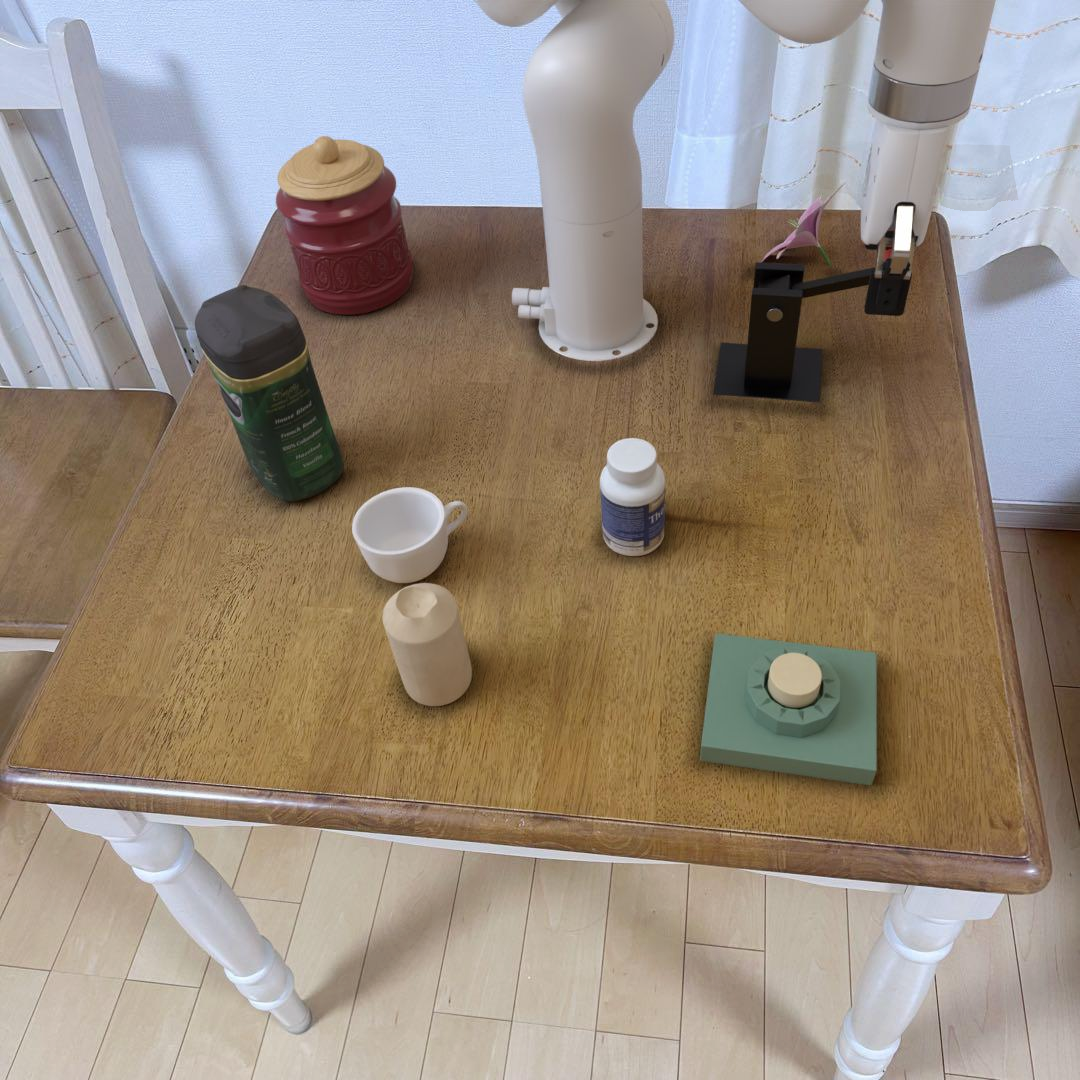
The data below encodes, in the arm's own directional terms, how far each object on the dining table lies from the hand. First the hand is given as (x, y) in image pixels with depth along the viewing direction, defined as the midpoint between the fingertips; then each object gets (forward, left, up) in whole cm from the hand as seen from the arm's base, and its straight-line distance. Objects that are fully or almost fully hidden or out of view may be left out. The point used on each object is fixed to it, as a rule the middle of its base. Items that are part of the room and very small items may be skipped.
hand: (882, 279), depth 90 cm
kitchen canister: (-56, +12, -12) cm, 59 cm away
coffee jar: (-52, -18, -12) cm, 56 cm away
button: (-5, -38, -9) cm, 39 cm away
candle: (-32, -39, -12) cm, 52 cm away
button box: (-5, -38, -12) cm, 40 cm away
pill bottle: (-19, -22, -12) cm, 32 cm away
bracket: (-9, 0, -12) cm, 15 cm away
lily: (-7, +20, -12) cm, 25 cm away
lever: (-4, 0, -2) cm, 5 cm away
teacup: (-37, -27, -12) cm, 47 cm away
